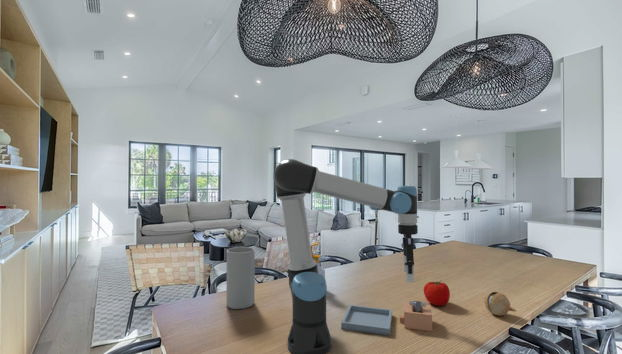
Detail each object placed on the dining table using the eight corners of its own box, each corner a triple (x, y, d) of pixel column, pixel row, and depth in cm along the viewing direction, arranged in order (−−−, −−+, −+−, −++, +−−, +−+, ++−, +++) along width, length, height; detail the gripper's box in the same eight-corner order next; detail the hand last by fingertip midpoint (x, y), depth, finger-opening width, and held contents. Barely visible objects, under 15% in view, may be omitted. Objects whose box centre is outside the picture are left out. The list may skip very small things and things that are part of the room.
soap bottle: (323, 293, 156) (323, 244, 156) (305, 292, 158) (305, 244, 158) (326, 287, 165) (326, 241, 165) (309, 286, 167) (309, 240, 167)
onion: (489, 288, 140) (518, 290, 126) (496, 309, 138) (527, 314, 124) (473, 294, 137) (501, 297, 123) (480, 316, 135) (510, 321, 121)
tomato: (451, 301, 146) (451, 279, 146) (448, 311, 135) (447, 287, 135) (426, 297, 152) (426, 275, 152) (421, 306, 141) (420, 283, 141)
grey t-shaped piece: (425, 326, 121) (425, 304, 121) (409, 324, 123) (409, 302, 123) (425, 323, 123) (425, 301, 124) (409, 321, 125) (409, 300, 125)
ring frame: (432, 331, 117) (432, 315, 117) (399, 327, 120) (399, 311, 120) (430, 320, 126) (430, 305, 126) (400, 316, 130) (399, 301, 130)
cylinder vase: (226, 311, 135) (226, 253, 136) (226, 300, 147) (226, 247, 148) (255, 308, 138) (255, 251, 139) (253, 298, 151) (253, 246, 151)
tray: (389, 335, 114) (389, 328, 114) (341, 328, 119) (341, 322, 119) (392, 315, 131) (392, 309, 131) (349, 310, 136) (349, 304, 136)
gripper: (421, 228, 113) (422, 287, 113) (414, 220, 138) (415, 268, 137) (399, 228, 115) (400, 286, 115) (396, 219, 139) (397, 267, 139)
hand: (408, 276), depth 126 cm, fingers open, 13 cm apart
